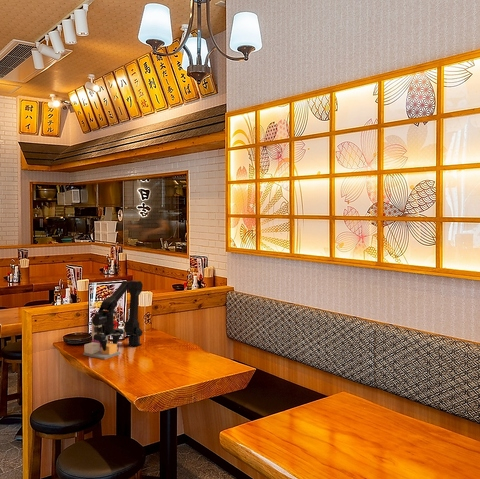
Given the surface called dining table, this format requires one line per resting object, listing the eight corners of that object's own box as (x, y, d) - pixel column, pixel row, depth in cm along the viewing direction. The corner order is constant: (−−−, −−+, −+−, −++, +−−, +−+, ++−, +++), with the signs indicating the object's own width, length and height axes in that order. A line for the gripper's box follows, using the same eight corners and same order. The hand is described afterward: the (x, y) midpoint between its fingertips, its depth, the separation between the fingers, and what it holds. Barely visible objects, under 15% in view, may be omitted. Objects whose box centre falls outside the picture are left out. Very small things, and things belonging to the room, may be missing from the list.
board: (98, 349, 295) (98, 340, 295) (120, 354, 287) (119, 344, 286) (83, 355, 285) (83, 345, 285) (104, 359, 277) (104, 349, 276)
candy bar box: (91, 344, 307) (90, 318, 306) (98, 343, 310) (98, 317, 309) (101, 348, 299) (100, 321, 298) (108, 346, 303) (107, 319, 302)
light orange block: (117, 351, 287) (116, 344, 286) (109, 354, 282) (109, 346, 281) (109, 350, 290) (109, 342, 289) (101, 353, 285) (101, 345, 284)
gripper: (110, 317, 297) (110, 343, 298) (86, 324, 281) (86, 351, 282) (124, 319, 291) (124, 345, 292) (100, 326, 275) (101, 354, 276)
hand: (109, 349), depth 286 cm, fingers open, 7 cm apart
